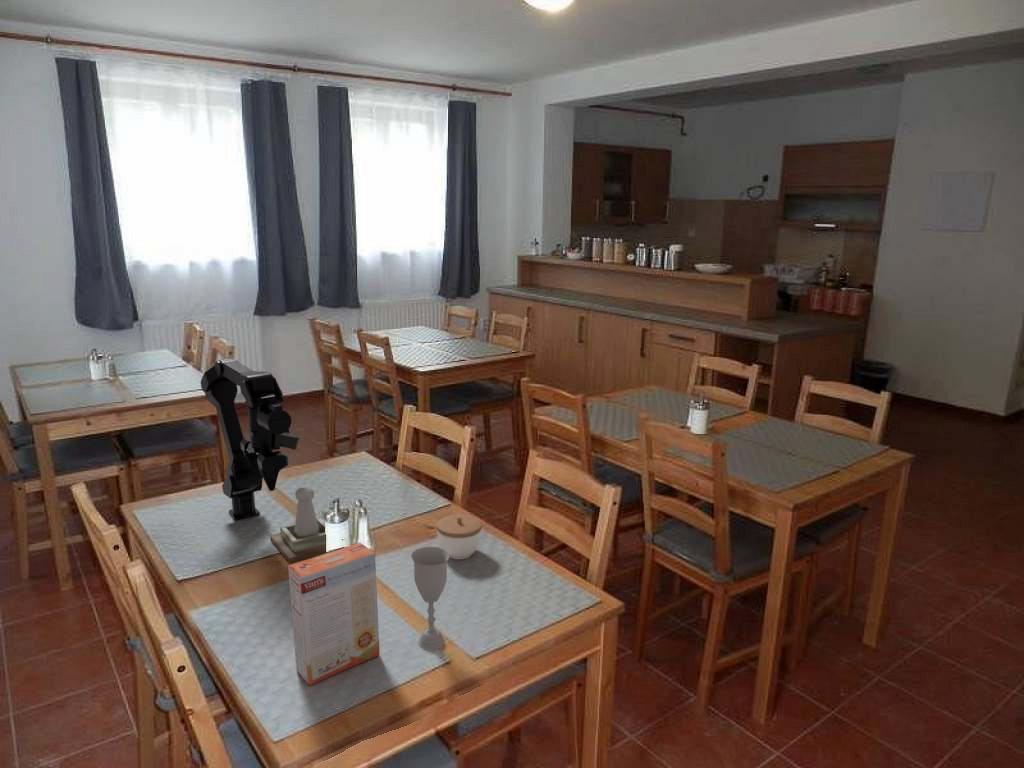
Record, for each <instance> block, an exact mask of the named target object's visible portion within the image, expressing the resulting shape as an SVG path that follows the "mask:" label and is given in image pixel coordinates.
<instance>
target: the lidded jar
mask: <svg viewBox="0 0 1024 768" xmlns="http://www.w3.org/2000/svg"><path fill="white" fill-rule="evenodd" d="M482 529H483V523H482V520H481V519H480V518H478V517H476V516H473V515H470V514H463V513H462V514H460V513H459V514H457V513H456V514H450V515H446V516H444V517H441V518H440V519H439V520H438V521H437V523H436V530H437V532H436V533H437V540H438V545H439V548H441V549H444V550H446V551H447V552H448V553H449V559H452V560H466V559H468V558H470V557H472V555H473V554H474V553H475V551H477V549H478V548H479V546H480V544H481V538H482Z"/></svg>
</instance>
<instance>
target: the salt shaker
mask: <svg viewBox="0 0 1024 768" xmlns="http://www.w3.org/2000/svg"><path fill="white" fill-rule="evenodd" d="M314 497H315V490H314V489H313V488H312V487H309V486H305V487H300V488H298V489H297V490H296V491H295V498H296V500H297V508H296V515H295V528H294V532H295V534H296V536H297V538H298V540H299V539H303V538H306V537H310V536H314V535H317V534H318V531H319V526H318V522H317V518H318V517H317V515H316V514H317V513H316V511H315V507H314V504H313V499H314Z"/></svg>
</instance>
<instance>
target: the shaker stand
mask: <svg viewBox="0 0 1024 768" xmlns="http://www.w3.org/2000/svg"><path fill="white" fill-rule="evenodd" d="M316 518H317V522H318V526H319V531H318V534H317V535H314V536H310V537H306V538H303V539H299V540H298V538H297V536H296V534H295V532H294V528H295V523H291V524H287V525H283V526H280V527H279V528H280V532H279V533H274V534H271V535H269V537H270V538H269V539H270V541H271V543H272V544H273V545H274V546H275V547H276V548H277V550H278V551H279V552H280V553H281V554H282V555H283V557H284V559H286V561H287V562H288V563H289V564H290V563H295V562H299V561H301V560H302V561H303V560H305V559H310V558H313V557H317V556H320V555H323V554H326V534H325V523H324V522H325V521H324V520H323V519H322V518H321V517H316Z"/></svg>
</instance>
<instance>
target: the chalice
mask: <svg viewBox="0 0 1024 768" xmlns="http://www.w3.org/2000/svg"><path fill="white" fill-rule="evenodd" d="M410 556H411V560H412V561H413V570H414V571H413V572H414V573H413V574H414V576H413V580H414V582H415V586H416V588H417V590H418V592H419V594H420V596H421V598H422V600H423V601H424V602H425V603H427V604H428V607H427V609H426V612H427V614H428V616H427V618H426V621H427V622H428V626H427V627H426V628H424V629H423V630H422V632H421V633H420V636H419V638H418V641H417V643H418V644H417V645H418V646H419V647H420V648H421V649H422V650H426V649H428V650H427V651H431V650H432V649H434V650H438V649H439V648H441V647H443V646H444V645H445V642H446V640H445V638H444V636H443V634H442V632H441V630H440V629H439V628H438V627H436V626H434V624H435V621H436V620H437V618H436V617H435V616H434V614H435V612H436V608H435V607H434V604H435V603H436V602H438V601H439V598H440V597H441V595H442V593H443V591H444V589H445V587H446V583H447V580H448V579H447V578H448V572H447V563H448V560H450V557H449V553H448V552H447V551H446V550H444V549H441V547H436V546H424V547H420V548H417V549H416V550H413V552H412V553H411V555H410ZM432 651H433V650H432Z"/></svg>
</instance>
